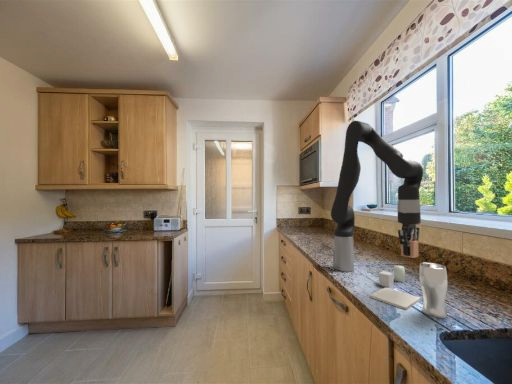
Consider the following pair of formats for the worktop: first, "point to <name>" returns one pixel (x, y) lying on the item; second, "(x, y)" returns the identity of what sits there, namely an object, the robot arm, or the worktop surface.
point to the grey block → (386, 279)
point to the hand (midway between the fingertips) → (409, 254)
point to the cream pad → (395, 298)
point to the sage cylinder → (399, 273)
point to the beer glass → (433, 289)
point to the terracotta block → (411, 249)
